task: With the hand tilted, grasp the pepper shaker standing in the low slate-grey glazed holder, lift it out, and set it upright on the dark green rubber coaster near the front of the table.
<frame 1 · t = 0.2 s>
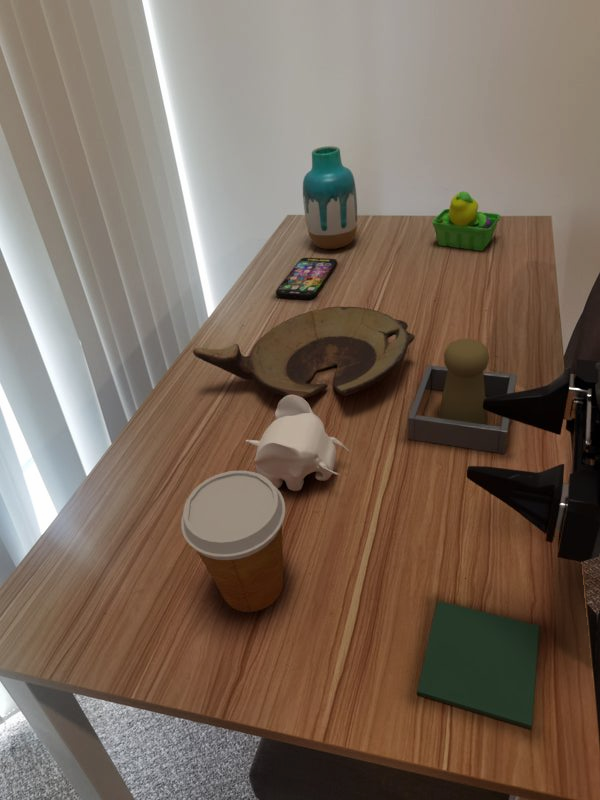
hand: (475, 435, 52), 15 cm above the table, tool horizontal, fingers open, 9 cm apart
smartphone: (307, 280, 114), on the table
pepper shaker: (462, 418, 78), resting in holder
vase: (334, 246, 125), on the table
disposable coffee cup: (253, 586, 61), on the table
holder: (462, 417, 77), on the table
coaster: (479, 660, 52), on the table
fruit basket: (463, 245, 118), on the table
elephant figurine: (299, 475, 73), on the table
brown shallow dish: (312, 371, 90), on the table
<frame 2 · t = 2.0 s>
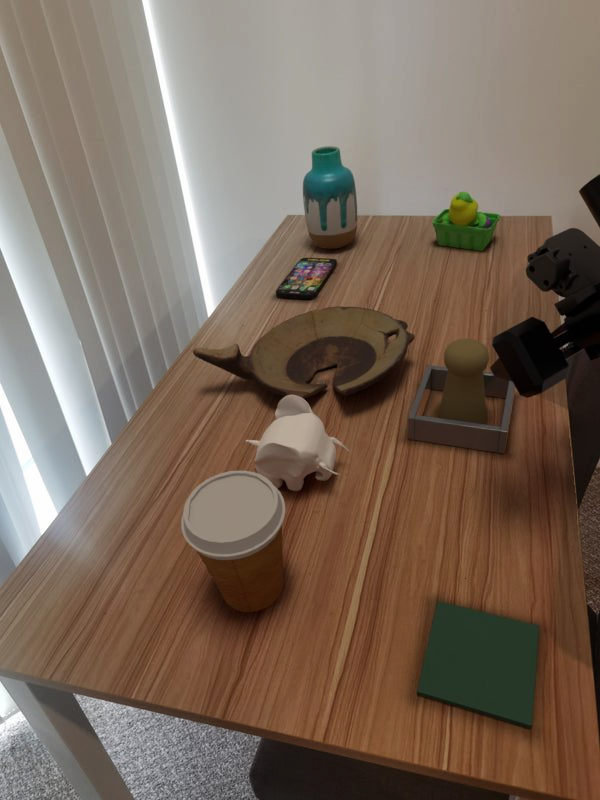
hand: (523, 354, 63), 14 cm above the table, tool tilted 45°, fingers open, 9 cm apart
nothing on the table moved.
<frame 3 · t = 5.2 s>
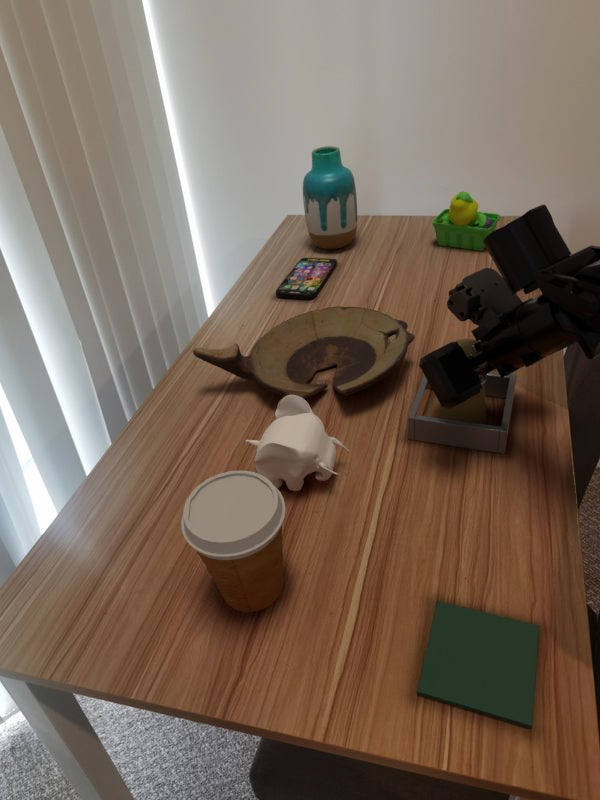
hand: (456, 370, 74), 7 cm above the table, tool tilted 45°, fingers closed on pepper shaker, 5 cm apart
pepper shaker: (462, 418, 78), resting in holder, touching gripper
everything else where it was.
when the fingers open (7 cm above the table, at t = 14.1 s): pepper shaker stays where it is, resting on coaster.
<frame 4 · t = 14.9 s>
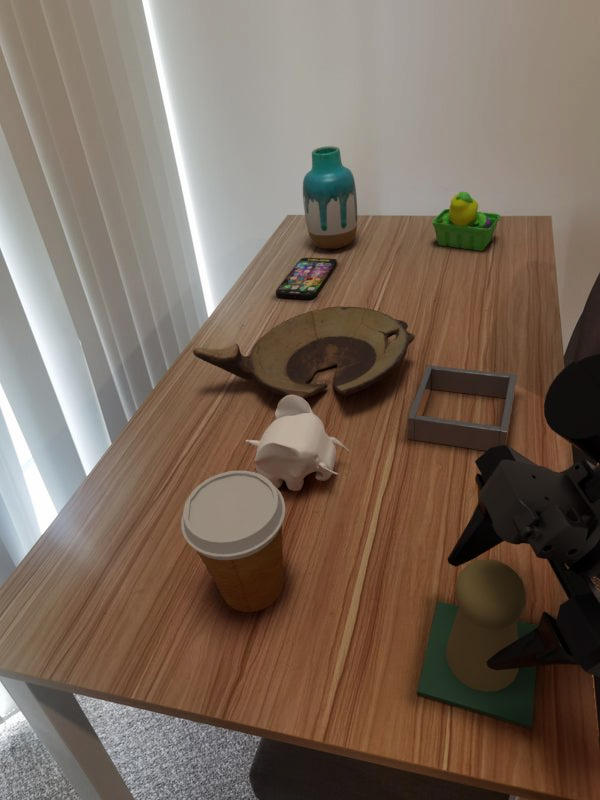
hand: (469, 611, 47), 8 cm above the table, tool tilted 45°, fingers open, 9 cm apart
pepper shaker: (481, 658, 52), resting on coaster
everything else where it was.
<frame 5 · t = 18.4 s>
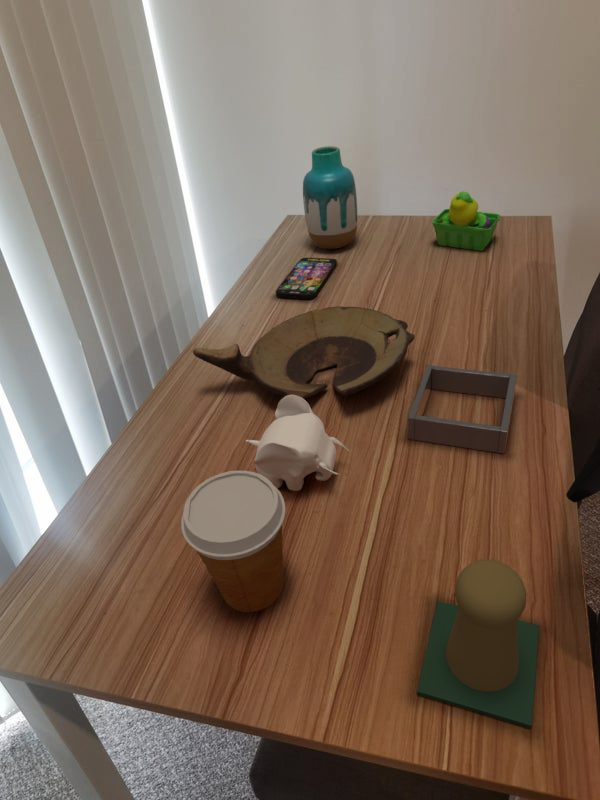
hand: (599, 544, 44), 14 cm above the table, tool tilted 45°, fingers open, 9 cm apart
nothing on the table moved.
at the end: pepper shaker 0.1 cm off-centre on the coaster, point 0.4 cm above the coaster's base; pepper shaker tilted 0°; the gripper is holding nothing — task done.
